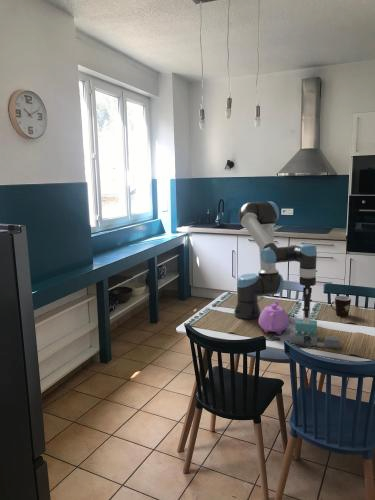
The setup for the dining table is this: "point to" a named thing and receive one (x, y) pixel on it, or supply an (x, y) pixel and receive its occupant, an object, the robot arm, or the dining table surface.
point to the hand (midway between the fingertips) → (306, 318)
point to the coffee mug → (342, 305)
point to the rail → (315, 341)
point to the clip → (306, 326)
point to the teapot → (274, 318)
